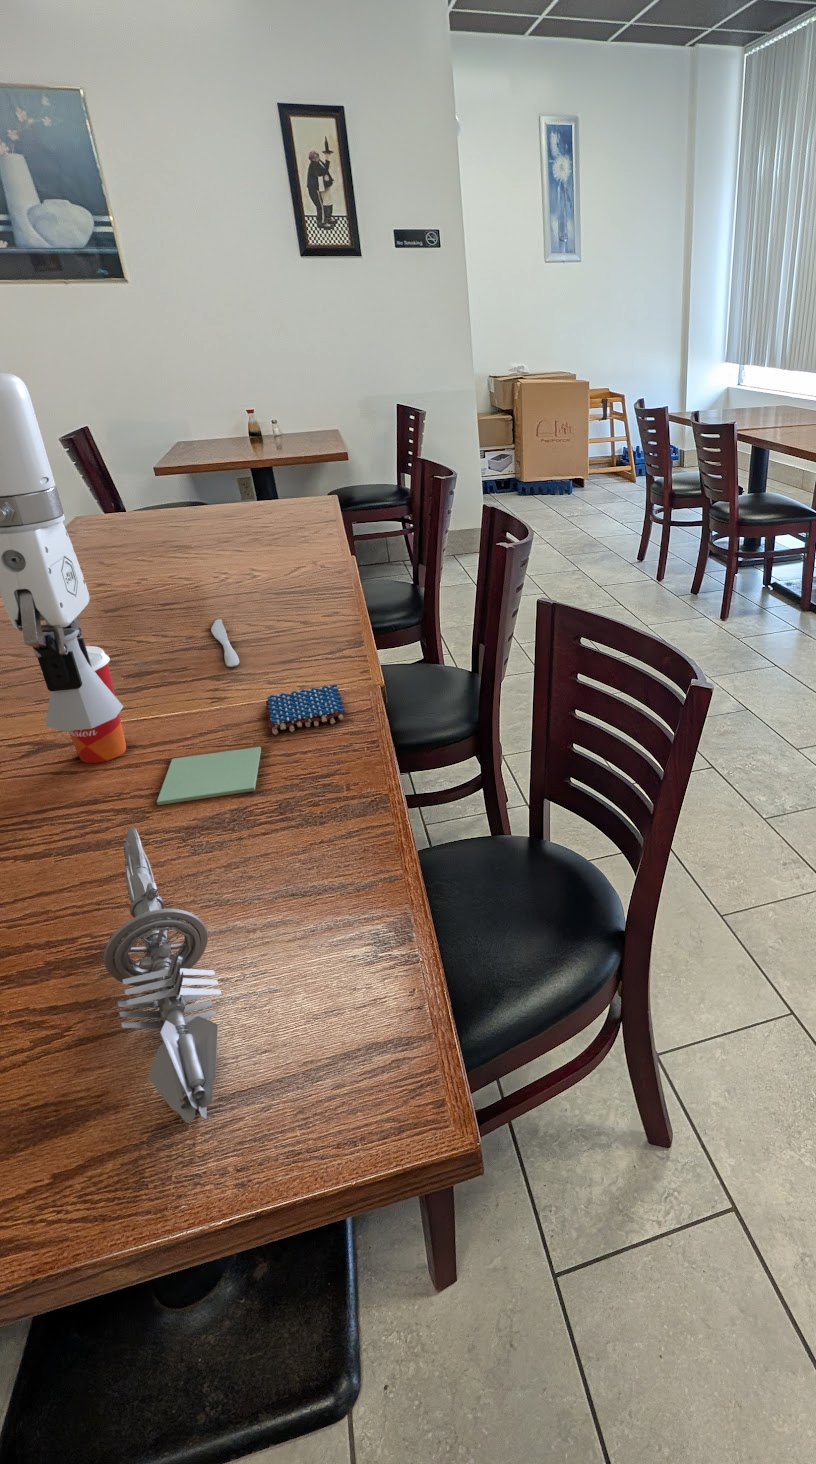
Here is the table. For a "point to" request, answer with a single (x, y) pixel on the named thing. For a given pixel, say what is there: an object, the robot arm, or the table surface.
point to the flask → (81, 696)
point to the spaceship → (166, 987)
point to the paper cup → (107, 736)
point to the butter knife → (225, 643)
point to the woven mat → (304, 708)
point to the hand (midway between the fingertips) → (71, 680)
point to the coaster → (210, 775)
